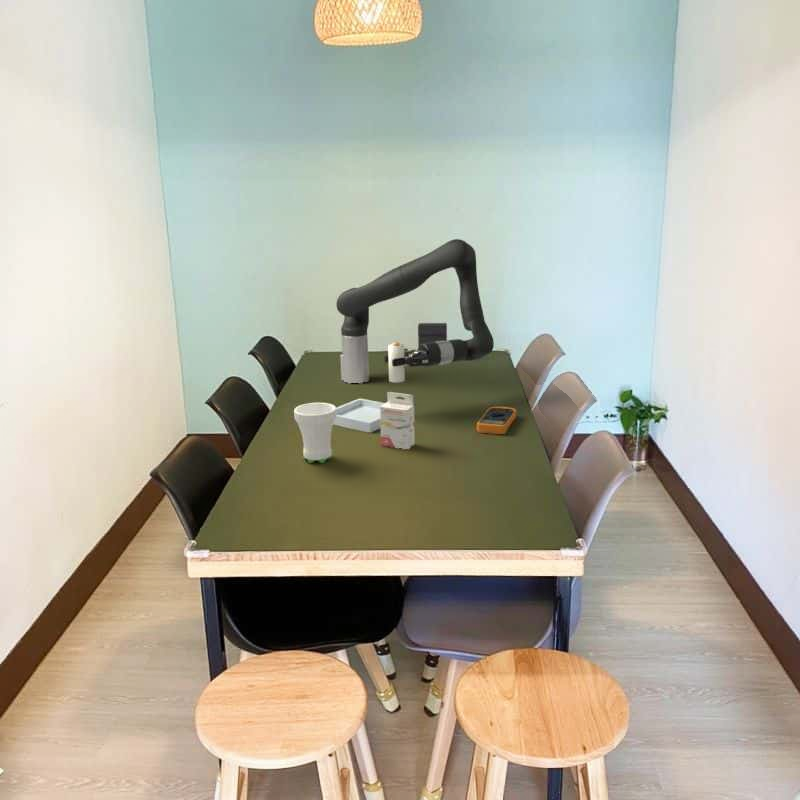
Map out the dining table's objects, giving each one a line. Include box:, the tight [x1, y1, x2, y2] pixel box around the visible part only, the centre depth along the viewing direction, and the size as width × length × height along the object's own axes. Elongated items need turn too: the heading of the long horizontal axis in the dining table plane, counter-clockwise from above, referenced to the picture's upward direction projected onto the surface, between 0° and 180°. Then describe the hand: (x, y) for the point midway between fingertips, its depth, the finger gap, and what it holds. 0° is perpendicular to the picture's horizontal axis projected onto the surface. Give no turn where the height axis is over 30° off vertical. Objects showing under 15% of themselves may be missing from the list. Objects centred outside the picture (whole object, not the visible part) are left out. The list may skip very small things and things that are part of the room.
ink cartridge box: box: [380, 391, 416, 450], centre depth 218 cm, size 9×5×15 cm, turn 65°
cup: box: [293, 402, 337, 464], centre depth 210 cm, size 11×11×14 cm
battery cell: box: [387, 341, 406, 383], centre depth 241 cm, size 5×5×12 cm
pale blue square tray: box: [333, 398, 386, 434], centre depth 243 cm, size 18×18×3 cm
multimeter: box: [476, 406, 517, 435], centre depth 235 cm, size 9×18×3 cm, turn 160°
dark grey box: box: [417, 322, 448, 349], centre depth 308 cm, size 11×4×15 cm, turn 84°
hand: (388, 361), depth 240 cm, fingers closed on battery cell, 4 cm apart
